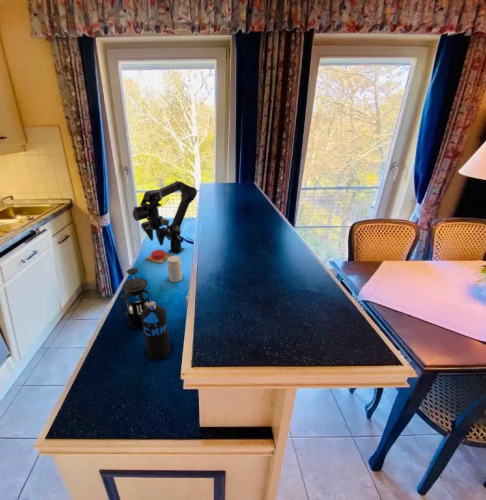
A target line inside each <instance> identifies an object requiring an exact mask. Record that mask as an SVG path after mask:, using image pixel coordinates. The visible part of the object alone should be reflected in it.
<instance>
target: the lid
mask: <svg viewBox="0 0 486 500" xmlns="http://www.w3.org/2000/svg"><path fill="white" fill-rule="evenodd" d="M165 253H166V251H165V250H163V249H155V250H153V251H152V252H151V253H150V256H152V259H155V260H159V259H163V258H164V257H165Z"/></svg>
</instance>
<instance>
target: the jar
mask: <svg viewBox="0 0 486 500" xmlns="http://www.w3.org/2000/svg"><path fill="white" fill-rule="evenodd" d="M166 267H167V276H168V281H169V282H172V283H179V282H181V281H182V280H183V273H182V272H183V269H182V261H181V257H180V256H178V255H171V256H170V257H168V258H167V259H166Z"/></svg>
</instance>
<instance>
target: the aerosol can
mask: <svg viewBox="0 0 486 500" xmlns="http://www.w3.org/2000/svg"><path fill="white" fill-rule="evenodd" d="M148 303H149V307H147V308H146V309H144V310H143V311H142V313H141V315H140V316H139V318H140V319H141V321H142V324H143V334H144V341H145V346H146V355H147V357H148V358H149V359H151V360H154V361H159V360H163V359H165V358H167V357H168V356H169V355H170V354H171V350H172V347H171V344H170V343H171V342H170V336H169V335H170V334H169V328H168V320H167V314H168V313H167V310H166V308H165V307H163V306H161V305H158V304H156V302H155V301H153V300H150V302H148Z"/></svg>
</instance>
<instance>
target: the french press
mask: <svg viewBox="0 0 486 500" xmlns="http://www.w3.org/2000/svg"><path fill="white" fill-rule="evenodd" d="M139 271H140V270H139V268H137V267H131V268H128V269H127V270H126V274H128V275H131V276H132V278H131V279H128V280H127V281H125V282H124V283H123V285H122V289H123V291H124V294H121V295H120V296H119V301H120V306H121V311H122V315H123V317H127V318H128V324H129V326H130V327H131V328H132V329H135V330H142V329H143V324H142V320H140V316H141V313H142V311H143V310H144V309H146V308H147V307H149V302H151V297H150V296H151V295H150V292H149V291H148V290H147V289H146V288H147V287H148V284H149V283H148V281H147V279H145V278H141V277H136V278H135V274H137V273H139ZM144 293H145V294H147V295H148V296H147V297H146V298H145V297H144ZM129 296H130V297H135V296H136V301H135V302H132V301H129V300H128V297H129ZM124 302H125V303H124ZM125 304H126V309H125ZM126 310H127V312H126ZM143 330H144V329H143Z"/></svg>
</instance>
